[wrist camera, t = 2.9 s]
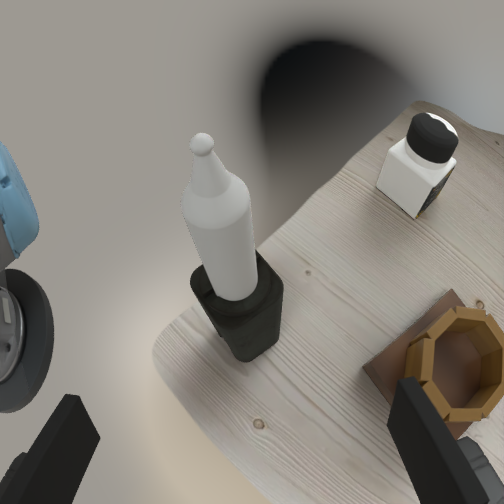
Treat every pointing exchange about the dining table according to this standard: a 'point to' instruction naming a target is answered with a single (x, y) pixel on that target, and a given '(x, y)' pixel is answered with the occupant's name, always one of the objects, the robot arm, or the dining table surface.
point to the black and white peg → (229, 257)
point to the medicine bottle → (419, 164)
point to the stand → (447, 362)
